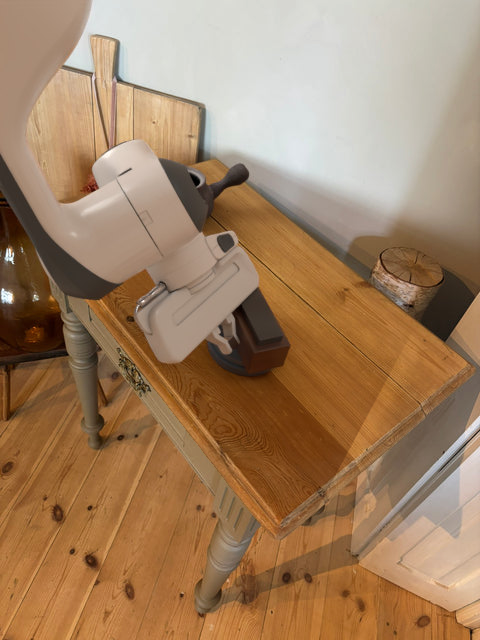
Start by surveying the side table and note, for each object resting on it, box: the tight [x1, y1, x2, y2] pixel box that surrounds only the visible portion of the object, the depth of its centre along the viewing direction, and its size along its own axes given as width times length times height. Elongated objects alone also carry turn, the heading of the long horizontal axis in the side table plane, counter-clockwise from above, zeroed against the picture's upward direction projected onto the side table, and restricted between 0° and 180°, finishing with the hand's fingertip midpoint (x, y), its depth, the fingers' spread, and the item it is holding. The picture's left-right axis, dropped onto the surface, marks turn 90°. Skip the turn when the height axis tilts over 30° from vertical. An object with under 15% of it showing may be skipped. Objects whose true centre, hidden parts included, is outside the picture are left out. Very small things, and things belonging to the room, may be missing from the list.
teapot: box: [186, 162, 250, 220], centre depth 90 cm, size 19×15×10 cm
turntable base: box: [206, 340, 273, 377], centre depth 72 cm, size 12×12×2 cm
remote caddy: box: [213, 286, 292, 374], centre depth 68 cm, size 14×11×8 cm
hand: (232, 348), depth 65 cm, fingers closed
